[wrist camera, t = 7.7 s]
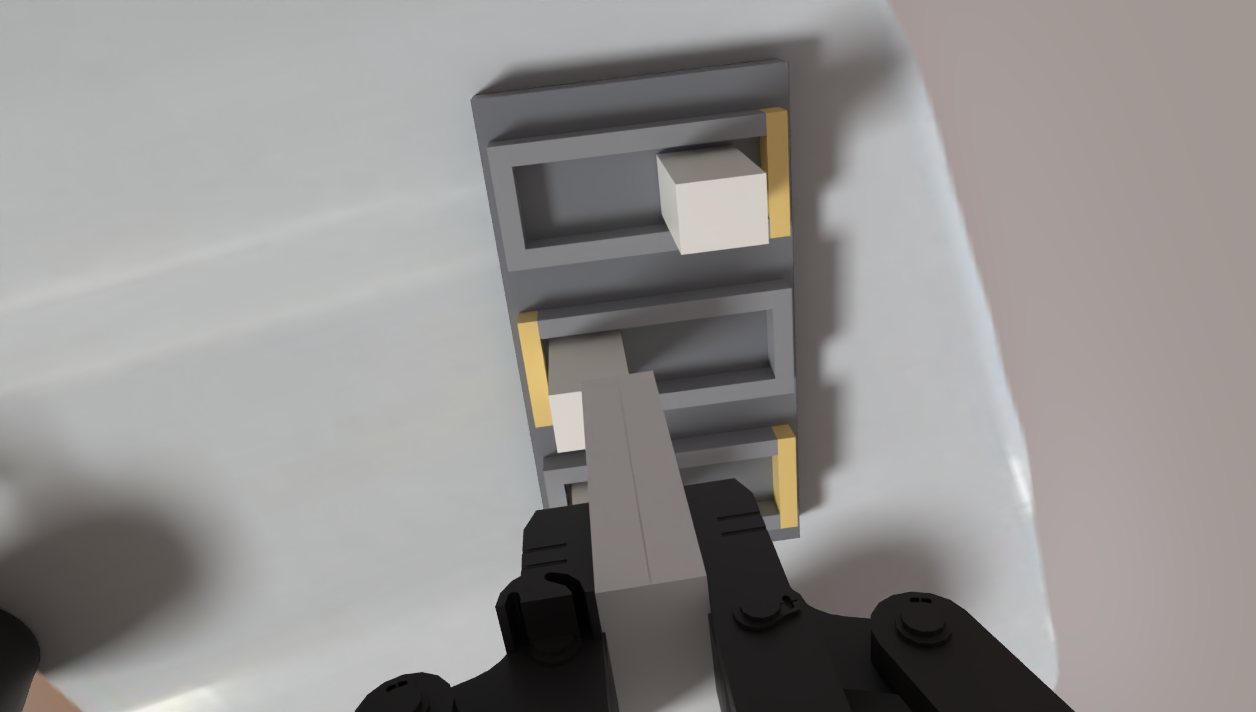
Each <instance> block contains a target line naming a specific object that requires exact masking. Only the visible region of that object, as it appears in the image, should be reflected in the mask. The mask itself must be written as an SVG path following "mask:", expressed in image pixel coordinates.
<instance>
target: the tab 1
mask: <svg viewBox="0 0 1256 712" xmlns="http://www.w3.org/2000/svg"><path fill="white" fill-rule="evenodd" d="M626 374H629V372H628V367H627V362H626V357H625V352H624V347H623V342H622V337H621V332H620V329H616V330H608V331H600V332H593V333H585V334H577V335H570V336H562V337H554V338H549V375H548V397H549V403H550V409H551V415H552V422H553V428H554V434H555V440H556V446H557V452H558V453H561V452H568V451H576V450H583V449H585V436H584V421H583V406H582V391H581V381H586V380H593V379H600V378H606V377H613V376H619V375H626Z"/></svg>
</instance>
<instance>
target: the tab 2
mask: <svg viewBox="0 0 1256 712" xmlns="http://www.w3.org/2000/svg"><path fill="white" fill-rule="evenodd" d="M656 157H657V168H658V179H659V190H660V201H661V212H662V216H663V218H664V220H665V222H666V224H667V227H668V229H669V231H670V233H671V235H672V237H673V239H674V241H675V243H676V245H677V247H678V249H679V251H680V253H681V255H684V254H692V253H700V252H708V251H716V250H723V249H731V248H739V247H747V246H755V245H762V244H769V236H768V208H767V181H766V173H765V172H764V171H763V170H762V169H761V168H760V167H758V166H757V165H756V164H755V163H754V162H752V161H751V160H750V159H749V158H748V157H747V156H745V155H744V154H743V153H742V152H741V151H739V150H738V149H737V148H736V147H735V146H734V145H727V146H719V147H711V148H703V149H695V150H687V151H678V152H670V153H662V154H656Z"/></svg>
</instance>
